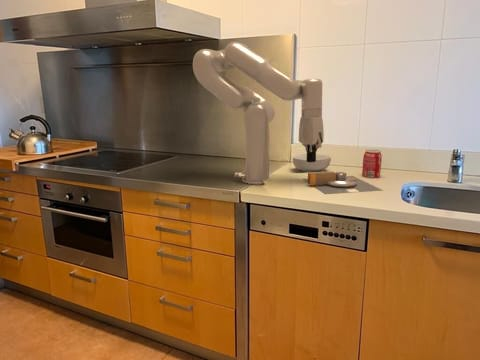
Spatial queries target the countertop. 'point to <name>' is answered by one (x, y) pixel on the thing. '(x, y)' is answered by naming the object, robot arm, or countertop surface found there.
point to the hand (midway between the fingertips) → (311, 161)
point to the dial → (331, 179)
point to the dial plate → (360, 187)
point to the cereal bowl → (307, 167)
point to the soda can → (372, 164)
